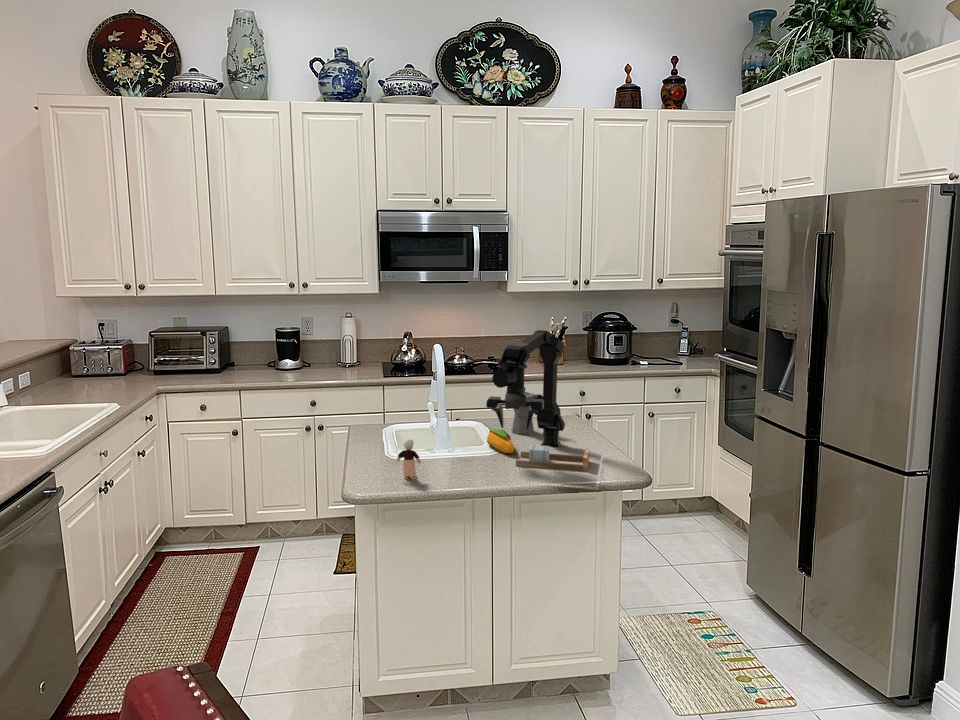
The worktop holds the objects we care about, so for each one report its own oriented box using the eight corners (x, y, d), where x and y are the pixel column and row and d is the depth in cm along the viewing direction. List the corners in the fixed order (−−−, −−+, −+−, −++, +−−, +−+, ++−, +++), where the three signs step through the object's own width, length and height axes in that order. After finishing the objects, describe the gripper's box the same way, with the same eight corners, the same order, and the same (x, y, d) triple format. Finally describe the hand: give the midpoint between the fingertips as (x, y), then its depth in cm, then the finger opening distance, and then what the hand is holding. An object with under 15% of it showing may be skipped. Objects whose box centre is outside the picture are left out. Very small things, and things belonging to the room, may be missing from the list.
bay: (521, 458, 247) (521, 444, 246) (588, 463, 242) (589, 449, 242) (515, 468, 236) (515, 453, 235) (586, 473, 231) (586, 458, 231)
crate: (531, 459, 244) (531, 444, 243) (549, 460, 242) (549, 445, 242) (528, 464, 238) (529, 449, 237) (546, 465, 237) (547, 450, 236)
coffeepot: (503, 433, 280) (503, 388, 277) (510, 427, 289) (511, 383, 286) (541, 437, 275) (542, 391, 272) (547, 431, 284) (548, 386, 281)
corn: (500, 423, 264) (523, 437, 246) (501, 443, 266) (524, 458, 247) (482, 426, 262) (503, 440, 243) (483, 446, 263) (504, 461, 245)
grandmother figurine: (421, 476, 227) (421, 437, 225) (420, 480, 223) (420, 440, 221) (396, 476, 227) (396, 437, 225) (395, 480, 223) (395, 440, 221)
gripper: (483, 386, 231) (482, 432, 234) (540, 388, 228) (539, 436, 230) (489, 379, 242) (489, 424, 245) (544, 382, 239) (543, 427, 241)
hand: (514, 428), depth 240 cm, fingers open, 8 cm apart
